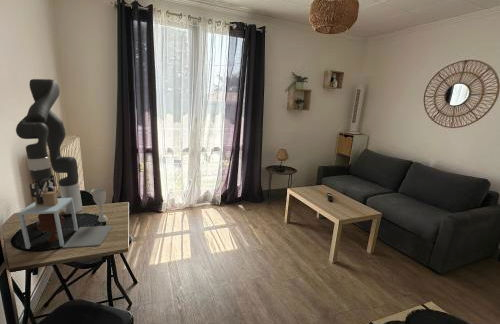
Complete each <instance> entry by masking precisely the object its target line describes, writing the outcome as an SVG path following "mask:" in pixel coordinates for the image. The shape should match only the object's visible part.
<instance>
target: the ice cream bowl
mask: <svg viewBox="0 0 500 324" xmlns="http://www.w3.org/2000/svg"><path fill="white" fill-rule="evenodd" d="M37 219H38V221H37V222H35V225H36V228H37V229H38V230H39V231H40V232H42V233H44V232H47V233H48V234H49V233H50V236H48V237H47V238H46V242H49V243H53V242H56V241H59V238H58V234H56V232H57V227H56V222H55V217H54V213H49V214H37ZM59 219H60V224H61V228H62V227H63V225H64V224H65V220H66V219H65V217H64V216H62V214H61V213H59ZM47 233H46V234H47Z"/></svg>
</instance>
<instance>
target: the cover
mask: <svg viewBox="0 0 500 324" xmlns="http://www.w3.org/2000/svg"><path fill="white" fill-rule="evenodd" d="M39 194H40V192H39ZM42 196H43V201H44V204H42V205H38V204H37V200H36V197H33V199H34V202H31V204H29V205H28V206H26V207H24V208H23V209H21V210H20V211H18V212H17V215H18V219H19V224H20V228H21V232H22V236H23V237H22V238H23V241H24V246H25V249H27V250H29V249H31V248H32V246H31V242H30V237H29V233H28V227H27V225H26V224H27V223H26V219H25V215H27V216H28V215H39V214H49V213H54V217H55V222H56V227H57V231H56V233H57V235H58V238H59V240H58V241H59V242H58V243H59V247H61V248H62V247H63V246H64V245H65V241H64V236H63V235H64V234H63V230H62V227H61V224H60V219H59V214H60V211H61V210H63V208H64V207H65V206H66V205H67V204H68V203H70V208H71V214H70V215H71V218H72V223H73V230H74V232H77V230H78V229H79V228H78V227H79V226H78V222H77V216H76V215H77V213H75V208H74V202H73V198H61V197H58V193H57V191H55V190H54V192H48V191H44V192H43V195H42ZM43 233H44V234H46V233H45V232H43ZM30 247H31V248H30Z"/></svg>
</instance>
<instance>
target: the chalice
mask: <svg viewBox="0 0 500 324" xmlns="http://www.w3.org/2000/svg"><path fill="white" fill-rule="evenodd" d="M106 191H107V188H105V187H96V188H93V189H92V190H90V192H91V193H92V198H93V201H94V203H95V205H96V206H98V207H99V213H100V216H99V217H98V219H97V222H98V221H99V222H98V223H104V222H107V221H108V220H109V219H108V217H107V216H106V215H105V214H104V211H103V206H104V205H105V203H106V198H107V193H106Z"/></svg>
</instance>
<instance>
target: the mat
mask: <svg viewBox="0 0 500 324" xmlns="http://www.w3.org/2000/svg"><path fill="white" fill-rule="evenodd" d="M113 228H114V225H113V224H112V225H98V226H97V225H96V226H80V227H79V228H78V230H77V231H75V232H74V233H73V234H72V236H71V237H70V238H69V239H68V240H67V241H66V242H65V243H64V246H61V248H62V249H68V248H70V249H71V248H84V247H86V248H87V247H94V246H95V247H98V246H99V247H100V246H101V245H102V244H103V242H104V241H105V239H106V238H107V237H108V235H109V233H110V232H111V230H112V229H113Z"/></svg>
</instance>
